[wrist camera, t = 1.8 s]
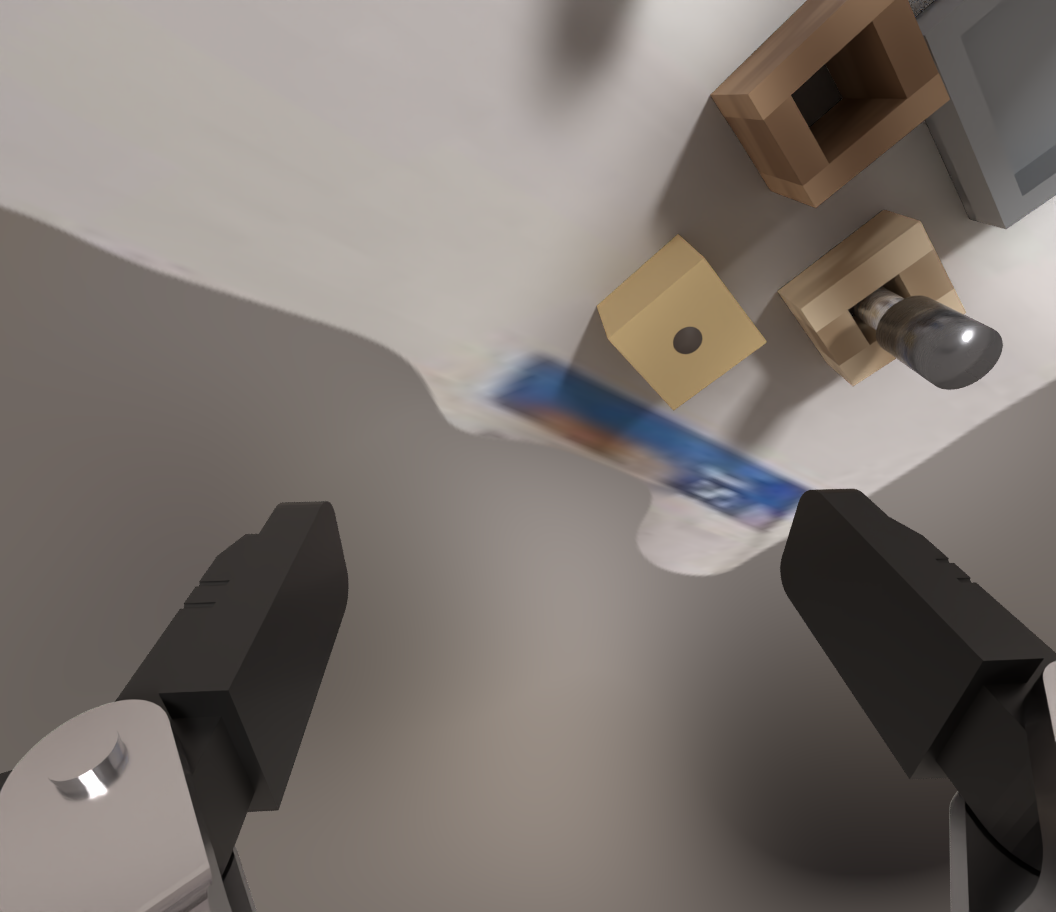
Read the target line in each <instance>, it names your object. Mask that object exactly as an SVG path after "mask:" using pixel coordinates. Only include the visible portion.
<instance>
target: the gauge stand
mask: <svg viewBox="0 0 1056 912" xmlns="http://www.w3.org/2000/svg"><path fill="white" fill-rule="evenodd" d="M881 286H882V287H884V288H885V289H887V290H889V291H891V292H893V293H895V294H897V295H899V296H901V297H902V298H904V299H905V298H907V297H911V296H919V295H920V296H927V297H929V298H931V299H933V300H935V301H937V302H939V303H941V304H944V305H946V306H948V307H950V308H952V309H954V310H956V311H958V312H960V313H962V314H965V313H966V311H965V309H964V307H963V305H962V303H961V301H960V299H959V297H958V295H957V293H956V291H955V289H954V287H953V285H952V283H951V281H950V279H949V277H948V275H947V273H946V271H945V269H944V267H943V265H942V263H941V261H940V259H939V257H938V255H937V253H936V251H935V249H934V247H933V245H932V243H931V241H930V239H929V237H928V235H927V233H926V231H925V229H924V227H923V225H922V223H921V221H919V220H916V219H913V218H910V217H906V216H903V215H900V214H897V213H894V212H890V211H887V210H883V211H881V212H880V213H879V214H877V215H876V216H875V217H874V218H872V219H871V220H870V221H868V222H867V223H866V224H864V225H863V226H862V227H860V228H859V229H858V230H857V231H855V232H854V233H853V234H851V235H850V236H849V237H847V238H846V239H845V240H844V241H842V242H841V243H840V244H838V245H837V246H836V247H834V248H833V249H832V250H830V251H829V252H828V253H827V254H825V255H824V256H823V257H821V258H820V259H819V260H817V261H816V262H815V263H813V264H812V265H811V266H810V267H808V268H807V269H806V270H804V271H803V272H802V273H800V274H799V275H798V276H797V277H795V278H794V279H793V280H791V281H790V282H789V283H787V284H786V285H785V286H783V287H782V288H781V289H780V290H778V293H779V294H780V296H781V297H782V299H783V300H784V302H785V303H786V304H787V306H788V307H789V309H790V310H791V312H792V313H793V315H794V316H795V318H796V319H797V320H798V322H799V323H800V325H801V326H802V328H803V329H804V331H805V332H806V334H807V335H808V336H809V338H810V339H811V341H812V342H813V344H814V345H815V347H816V348H817V349H818V351H819V352H820V354H821V355H822V357H823V358H824V360H825V361H826V363H827V364H828V365H829V366H830V367H832V368H833V369H834V370H835V371H836V372H837V373H838V374H839V375H841V376H842V377H843V378H844V379H845V380H846V381H847V382H849V383H850V384H851V385H852V386H854V385H856V384H858V383H859V382H861V381H862V380H864V379H865V378H867V377H868V376H870V375H871V374H873V373H874V372H876V371H878V370H879V369H881V368H882V367H884V366H885V365H887V364H888V363H890V362H891V361H893V360H894V359H896V358H895V357H894V356H892V355H891V354H889V353H888V352H887V351H885V350H884V349H882V348H881V347H880V346H879V344H878V342H877V340H876V330H875V329H873V328H872V327H870V326H869V325H867V324H866V323H864V322H863V321H861V320H860V319H858V318H857V317H855V316H854V317H852V316H851V315H850V313H849V311H848V310H849V309H850V308H851V307H853V306H854V305H856V304H857V303H858V302H860V301H861V300H863V299H864V298H866V297H867V296H868V295H870V294H871V293H873V292H874V291H875V290H877V289H878V288H880V287H881Z"/></svg>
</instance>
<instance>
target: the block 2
mask: <svg viewBox="0 0 1056 912" xmlns="http://www.w3.org/2000/svg"><path fill="white" fill-rule="evenodd" d="M823 65H826V67H827V69H828V71H829V73H830V75H831V77H832V79H833V81H834V82H835V84H836V86H837V88H838V90H839V92H840V94H841V96H842V98H843V99H842V100H840V101H839V102H838V103H837V104H836V105H835V106H834V107H832V108H831V109H830V110H829V111H828V112H827V113H826V114H824V115H823V116H822V117H821V118H820V119H819V120H818V121H816V122H815V123H814V124H813V125H812V126H811V127H810V128H809V127H808V125H807V123H806V121H805V120H804V118H803V116H802V114H801V112H800V111H799V109H798V107H797V105H796V104H795V102H794V100H793V98H792V96H791V95H792V94H793V93H794V92H795V91H796V90H797V89H798V88H799V87H800V86H802V85H803V84H804V83H805V82H806V81H807V80H808V79H809V78H810V77H811V76H812V75H814V74H815V73H816V72H817V71H818V70H819V69H820V68H821V67H822V66H823ZM710 96H711V97H712V99H713V100H714V102H715V103H716V105H717V107H718V108H719V110H720V111H721V113H722V115H723V116H724V117H725V119H726V120H727V122H728V124H729V125H730V127H731V128H732V130H733V132H734V133H735V135H736V136H737V138H738V139H739V141H740V143H741V144H742V146H743V147H744V149H745V151H746V152H747V154H748V155H749V157H750V159H751V160H752V162H753V163H754V165H755V167H756V168H757V170H758V171H759V173H760V175H761V177H762V178H763V180H764V181H765V183H766V185H767V186H768V188H769V189H770V191H772V192H775V193H777V194H780V195H783V196H785V197H788V198H791V199H793V200H796V201H799V202H801V203H804V204H806V205H809V206H812V207H814V208H816V207H818V206H819V205H820V204H821V203H823V202H824V201H825V200H826V199H828V198H829V197H830V196H831V195H833V194H834V193H835V192H836V191H838V190H839V189H840V188H841V187H842V186H844V185H845V184H846V183H847V182H849V181H850V180H851V179H852V178H854V177H855V176H856V175H857V174H859V173H860V172H861V171H862V170H863V169H865V168H866V167H867V166H868V165H870V164H871V163H872V162H873V161H875V160H876V159H877V158H878V157H880V156H881V155H882V154H883V153H885V152H886V151H887V150H888V149H889V148H891V147H892V146H893V145H894V144H896V143H897V142H898V141H899V140H901V139H902V138H903V137H904V136H906V135H907V134H908V133H909V132H911V131H912V130H913V129H914V128H915V127H917V126H918V125H919V124H920V123H922V122H923V121H924V120H925V119H927V118H928V117H929V116H930V115H932V114H933V113H934V112H935V111H937V110H938V109H939V108H940V107H941V106H943V105H944V104H945V103H946V102H948V101H949V100H950V98H949V96H948V93H947V91H946V88H945V86H944V84H943V81H942V79H941V77H940V74H939V73H938V70H937V68H936V66H935V63H934V61H933V59H932V56H931V54H930V51H929V49H928V47H927V44H926V42H925V40H924V37H923V35H922V32H921V30H920V28H919V25H918V23H917V21H916V18H915V16H914V13H913V11H912V9H911V6H910V4H909V2H908V0H807V1H806V2H805V3H804V4H803V5H802V6H801V7H800V8H799V9H798V10H797V11H796V12H795V13H794V14H793V15H792V16H791V17H790V18H789V19H787V20H786V21H785V22H784V23H783V24H782V25H781V26H780V27H779V28H778V29H777V30H776V31H775V32H774V33H773V34H772V35H771V36H770V37H769V38H768V39H767V40H766V41H765V42H764V43H763V44H762V45H761V46H760V47H759V48H758V49H757V50H756V51H755V52H754V53H753V54H752V55H751V56H750V57H749V58H748V59H747V60H745V61H744V62H743V63H742V64H741V65H740V66H739V67H738V68H737V69H736V70H735V71H734V72H733V73H732V74H731V75H730V76H729V77H728V78H727V79H726V80H725V81H724V82H723V83H722V84H721V85H720V86H719V87H718V88H717V89H716V90H715V91H714V92H713V93H712V94H711V95H710Z"/></svg>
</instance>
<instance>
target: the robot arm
mask: <svg viewBox="0 0 1056 912" xmlns="http://www.w3.org/2000/svg"><path fill="white" fill-rule="evenodd" d="M780 572H781V580H782V584H783V587H784V590H785V592H786V594H787V596H788V598H789V599H790V601H791V602H792V604H793V605H794V607H795V608H796V610H797V611H798V612H799V614H800V616H801V617H802V619H803V620H804V622H805V623H806V625H807V626H808V628H809V629H810V631H811V632H812V634H813V635H814V637H815V638H816V640H817V641H818V643H819V644H820V646H821V647H822V649H823V650H824V652H825V653H826V655H827V656H828V657H829V659H830V661H831V662H832V664H833V665H834V666H835V668H836V669H837V671H838V673H839V674H840V676H841V677H842V679H843V680H844V682H845V683H846V685H847V686H848V688H849V689H850V690H851V692H852V694H853V695H854V697H855V698H856V700H857V701H858V703H859V704H860V705H861V707H862V709H863V710H864V712H865V713H866V715H867V716H868V718H869V719H870V721H871V722H872V724H873V725H874V726H875V728H876V729H877V731H878V732H879V734H880V736H881V737H882V739H883V740H884V742H885V743H886V744H887V746H888V747H889V749H890V751H891V752H892V754H893V755H894V756H895V758H896V760H897V761H898V762H899V764H900V766H901V767H902V769H903V770H904V772H905V773H906V774H907V776H908V777H909V779H928V778H946V777H948V778H949V779H950V781H951V782H952V783H953V785H954V786H955V787H956V789H957V790H958V792H957V793H956V794H955V796H954V797H953V799H952V801H951V803H950V811H949V814H950V881H951V882H950V883H951V884H950V885H951V912H1056V653H1055V652H1054V651H1053V650H1052V649H1051V648H1050V647H1048V646H1047V645H1046V644H1045V643H1044V642H1043V641H1042V640H1041V639H1039V638H1038V637H1037V636H1036V635H1035V634H1034V633H1033V632H1031V631H1030V630H1029V629H1028V628H1027V627H1026V626H1025V625H1024V624H1022V623H1021V622H1020V621H1019V620H1018V619H1017V618H1016V617H1014V616H1013V615H1012V614H1011V613H1010V612H1009V611H1008V610H1006V609H1005V608H1004V607H1003V606H1002V605H1001V604H1000V603H999V602H997V601H996V600H995V599H994V598H993V597H992V596H991V595H990V594H988V593H987V592H986V591H985V590H984V589H983V588H982V587H980V586H979V585H978V584H977V583H971V581H970V577H969V576H968V575H967V574H966V573H965V572H963V571H962V570H961V569H960V568H959V567H958V566H957V565H955V564H954V563H949V561H948V558H947V557H946V556H945V555H944V554H943V553H942V552H941V551H940V550H939V549H937V548H936V547H935V546H934V545H933V544H932V543H931V542H929V541H928V540H927V539H926V538H925V537H924V536H923V535H921V534H919V533H917V532H915V531H913V530H912V529H910V528H908V527H906V526H905V525H903V524H901V523H899V522H897V521H896V520H894V519H892V518H890V517H888V516H887V515H886V514H885V513H884V512H883V511H882V510H881V509H880V508H879V507H877V506H876V505H875V504H874V503H873V502H872V501H871V500H870V499H869V498H868V497H867V496H865V495H864V494H863V493H862V492H861V491H859V490H857V489H825V490H808V491H806V492H805V493H804V494H803V495H802V496H801V498H800V500H799V503H798V506H797V510H796V513H795V516H794V519H793V523H792V526H791V529H790V532H789V536H788V539H787V542H786V546H785V549H784V552H783V555H782V559H781V566H780ZM347 599H348V573H347V568H346V564H345V559H344V555H343V549H342V545H341V540H340V535H339V531H338V526H337V522H336V517H335V512H334V509H333V507H332V505H331V503H330V502H327V501H325V502H324V501H323V502H285V503H280V504H278V505H277V507H276V508H275V509H274V511H273V513H272V514H271V516H270V517H269V519H268V521H267V522H266V524H265V525H264V527H263V528H262V530H261V532H260V533H259V534H246V535H244V536H243V537H241V538H240V539H239V540H238V541H236V542H235V543H234V544H232V545H231V546H230V547H228V548H227V549H226V550H225V551H223V552H222V553H221V554H219V555H218V556H217V557H216V559H215V560H214V561H213V563H212V564H211V566H210V567H209V569H208V570H207V571H206V573H205V574H204V576H203V577H202V579H201V580H200V585H199V587H195V589H194V590H193V591H192V593H191V594H190V596H189V597H188V598H187V600H186V601H185V603H184V609H180V610H179V611H178V613H177V614H176V615H175V617H174V618H173V620H172V621H171V623H170V624H169V625H168V627H167V628H166V630H165V631H164V633H163V634H162V636H161V637H160V639H159V640H158V641H157V643H156V644H155V645H154V647H153V648H152V650H151V651H150V653H149V654H148V655H147V657H146V658H145V660H144V661H143V662H142V664H141V665H140V667H139V668H138V670H137V671H136V673H135V674H134V675H133V677H132V678H131V680H130V681H129V682H128V684H127V685H126V687H125V688H124V690H123V691H122V693H121V694H120V695H119V697H118V698H117V699H116V701H115V702H113V703H108V704H105V705H102V706H98V707H96V708H93V709H91V710H89V711H86V712H84V713H82V714H80V715H78V716H76V717H74V718H73V719H71V720H69V721H67V722H66V723H64V724H62V725H61V726H59V727H58V728H56V729H55V730H53V731H52V732H51V733H49V734H48V735H47V736H45V737H44V738H43V739H42V740H40V741H39V742H38V743H37V744H36V745H35V746H34V747H33V748H32V749H30V750H29V751H28V753H27V754H26V755H25V756H24V757H23V758H22V759H21V760H20V761H19V762H18V764H17V765H16V766H15V768H14V769H13V770H11V771H8V772H4V773H1V774H0V912H257V910H256V907H255V904H254V901H253V898H252V895H251V892H250V888H249V885H248V882H247V879H246V876H245V873H244V870H243V867H242V864H241V861H240V858H239V854H238V851H237V849H236V847H235V843H236V840H237V838H238V835H239V832H240V830H241V827H242V825H243V822H244V819H245V817H246V814H247V812H255V811H274V810H279V807H280V804H281V801H282V798H283V795H284V792H285V789H286V786H287V783H288V780H289V777H290V774H291V771H292V768H293V765H294V762H295V759H296V756H297V753H298V750H299V747H300V744H301V741H302V738H303V735H304V732H305V729H306V726H307V723H308V720H309V717H310V714H311V711H312V708H313V705H314V702H315V699H316V696H317V693H318V690H319V687H320V684H321V681H322V678H323V675H324V672H325V669H326V666H327V663H328V660H329V657H330V654H331V651H332V648H333V645H334V642H335V639H336V636H337V633H338V630H339V627H340V624H341V621H342V618H343V615H344V612H345V609H346V605H347Z"/></svg>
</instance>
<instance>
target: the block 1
mask: <svg viewBox="0 0 1056 912" xmlns="http://www.w3.org/2000/svg"><path fill="white" fill-rule="evenodd" d="M597 308H598V311H599V314H600V317H601V320H602V323H603V326H604V329H605V332H606V335H607V338H608V340H609V341H610V342H611V343H612V344H613V345H614V346H615V347H616V348H617V350H618V351H619V352H620V353H621V354H622V355H623V356H624V357H625V358H626V359H627V360H628V362H629V363H630V364H631V365H632V366H633V367H634V368H635V369H636V370H637V371H638V372H639V373H640V375H641V376H642V377H643V378H644V379H645V380H646V381H647V382H648V383H649V384H650V385H651V387H652V388H653V389H654V390H655V391H656V392H657V393H658V394H659V395H660V396H661V397H662V399H663V400H664V401H665V402H666V403H667V404H668V405H669V406H670V407H671V408H672V409H673V411H674V410H675V409H676V408H678V407H679V406H681V405H682V404H683V403H685V402H686V401H687V400H689V399H690V398H691V397H693V396H694V395H696V394H697V393H698V392H700V391H701V390H702V389H704V388H705V387H706V386H708V385H709V384H711V383H712V382H713V381H715V380H716V379H717V378H719V377H720V376H721V375H723V374H724V373H726V372H727V371H728V370H730V369H731V368H732V367H734V366H735V365H737V364H738V363H739V362H741V361H742V360H743V359H745V358H746V357H747V356H749V355H750V354H752V353H753V352H754V351H756V350H757V349H758V348H760V347H761V346H762V345H764V344H765V343H767V341H766V340H765V339H764V337H763V336H762V335H761V333H760V332H759V331H758V329H757V328H756V327H755V325H754V324H753V323H752V321H751V320H750V318H749V317H748V316H747V314H746V313H745V312H744V310H743V309H742V308H741V306H740V305H739V304H738V302H737V301H736V300H735V298H734V297H733V296H732V294H731V293H730V292H729V290H728V289H727V288H726V286H725V285H724V283H723V282H722V281H721V279H720V278H719V277H718V275H717V274H716V273H715V271H714V270H713V269H712V267H711V266H710V265H709V263H708V262H707V261H706V259H705V258H704V257H703V256H702V255H701V254H700V253H699V252H698V251H696V250H695V249H694V248H693V247H692V246H691V245H690V244H689V243H688V242H686V241H685V240H684V239H683V238H682V237H681V236H680V235H679V234H677V235H676V236H675V237H674V238H673V239H672V240H671V241H670V242H668V243H667V244H666V245H665V246H664V247H663V248H662V249H660V250H659V251H658V252H657V253H656V254H655V255H654V256H653V257H651V258H650V259H649V260H648V261H647V262H646V263H645V264H644V265H642V266H641V267H640V268H639V269H638V270H637V271H636V272H635V273H633V274H632V275H631V276H630V277H629V278H628V279H627V280H625V281H624V282H623V283H622V284H621V285H620V286H619V287H618V288H616V289H615V290H614V291H613V292H612V293H611V294H610V295H609V296H607V297H606V298H605V299H604V300H603V301H602V302H601V303H599V304H598V305H597Z"/></svg>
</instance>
